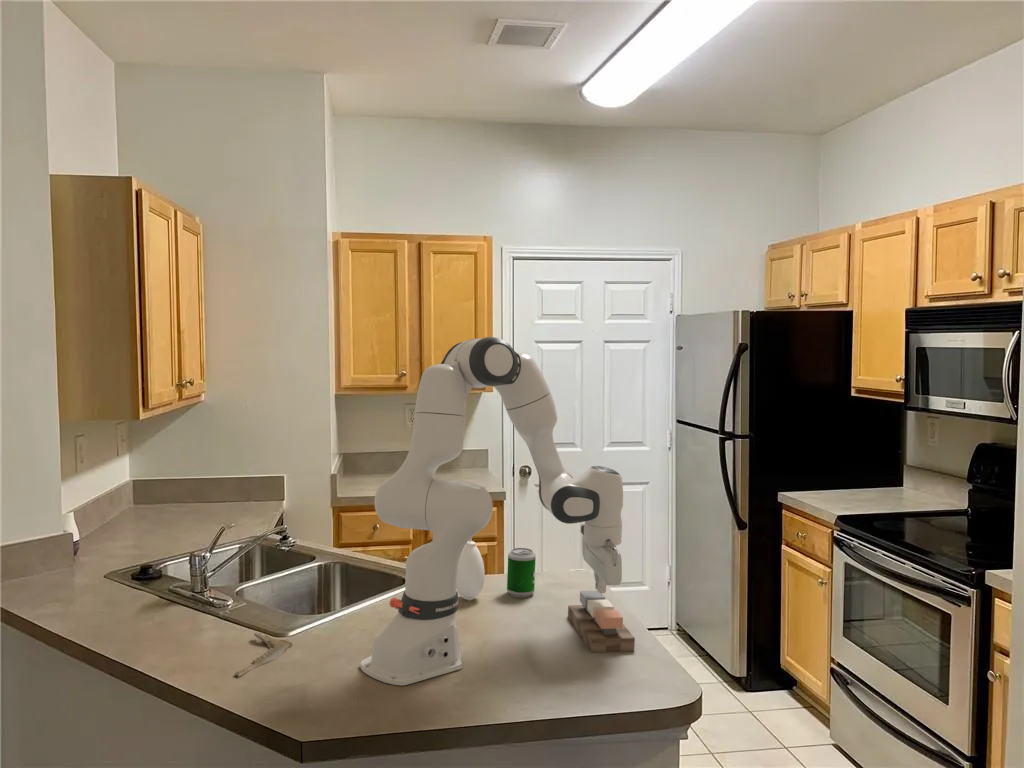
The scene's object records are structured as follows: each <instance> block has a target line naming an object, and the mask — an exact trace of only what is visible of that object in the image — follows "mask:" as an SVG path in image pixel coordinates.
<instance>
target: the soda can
mask: <svg viewBox="0 0 1024 768" xmlns="http://www.w3.org/2000/svg"><path fill="white" fill-rule="evenodd" d="M536 557H537V556H536V553H535V552H534V550H533V549H531V548H526V547H515V548H512V549H511V551H509V552H508V553H507V573H506V574H507V575H506V576H507V577H506V578H507V579H506V591H507V593H509V595H510V596H511V597H513V598H529V597H531V596H532V594H534V593H535V585H536V584H535V583H536V581H535V580H536V559H537V558H536Z"/></svg>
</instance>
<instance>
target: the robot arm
mask: <svg viewBox="0 0 1024 768" xmlns="http://www.w3.org/2000/svg"><path fill="white" fill-rule="evenodd" d="M548 385H549V384H548V383H547V381H546V379H545V377H544V375H543V372H542V371H541V370H540V367H539V366H538V365H537V363H536V361H535V360H534V358H533V357H532V356H530V355H529V354H527V353H517V352H516V351H515V349H514V348H513V347H512V346H511V345H510V343H508V342H507V341H505V340H503V338H502V339H501V338H500V337H495V336H487V337H486V336H485V337H483V338H471V339H467V340H465V341H463V342H458V343H456V344H455V345H453V346H451V348H449V349H448V351H447V352H446V354H444V357H443V359H442V361H441V363H438V364H433V365H430V366H429V367H427V368H426V369H425V370H423V373H422V374H421V378H420V381H419V386H418V388H417V389H418V390H417V395H416V401H415V407H414V415H413V416H414V417H413V427H412V428H413V429H412V435H411V441H410V442H411V443H410V448H409V450H408V453H407V455H406V458H405V460H404V461H403V463H402V465H401V466H400V467H399V468H398V470H396V472H395V473H393V474H392V475H391V476H390V477H388V478H387V479H385V480H384V481H383V482H382V483H381V484H380V485H379V486H378V488H377V491H376V493H375V495H374V509H375V512H376V515H377V517H378V519H380V521H381V522H383V523H385V524H387V525H391V526H394V527H397V528H401V529H409V530H411V529H412V530H420V531H422V530H424V531H430V532H433V533H432V541H430V542H428V543H425V544H423V545H420V546H419V547H417V548H415V549H413V550H412V551H411V552H410V553H409V554H408V556H407V558H406V562H405V583H404V584H405V585H404V587H405V588H404V589H405V590H404V592H403V593H402V595H401V599H399V598H396V597H391V598H390V600H389V607H390V608H394V609H396V610H397V613H396V614H395V615H394V616H393V617H392V619H391V620H390V621H389V622H388V623H387V624H386V625H385V627H383V629H382V630H381V631H380V632H378V634H377V635H376V636H375V638H374V640H373V644H372V648H371V650H372V651H371V655H370V656H368V657H366V658H364V659H362V660H361V661H360V663H359V668H360V669H361V670H362V672H363V673H365V674H366V675H367V676H369V677H370V678H373V679H375V680H378V681H380V682H383V683H385V684H390V685H394V686H395V685H396V686H407V685H411V684H414V683H418V682H421V681H424V680H428V679H431V678H434V677H438V676H441V675H445V674H448V673H451V672H455V671H458V670H461V669H462V668H463V662H462V658H463V657H462V656H463V654H462V650H461V645H460V640H459V639H460V637H459V629H458V621H457V620H458V619H457V611H458V610H459V593H458V590H457V588H456V585H457V571H458V563H459V558H460V555H461V552H462V550H463V548H464V547H465V546H466V543H467V542H468V541H470V539H471V538H472V539H473V537H474V536H475V535H476V534H478V533H479V532H481V531H482V530H483V529H485V528H486V526H487V525H488V524H489V522H490V520H491V518H492V515H493V511H494V510H493V500H492V496H491V495H490V493H489V491H488V489H487V488H485V487H484V486H482V485H478V484H475V483H472V482H469V481H468V482H467V481H463V480H450V479H449V480H448V479H437V478H435V477H436V472H437V470H438V468H439V467H440V466H441V465H444V464H446V463H450V462H451V461H453V460H454V459H456V458H457V457H459V456H460V455H461V454H462V451H463V449H464V443H465V442H464V440H465V427H466V412H467V400H468V396H469V394H470V393H471V391H472V389H483V388H488V387H493V388H494V389H496V391H497V392H498V394H499V396H500V398H501V399H502V403H503V405H504V408H505V410H506V413H507V415H508V418H509V419H510V422H511V423H512V425H513V427H514V429H515V430H516V432H517V433H518V435H519V436H520V437H521V438H522V440H523V441H524V442H525V444H526V446H527V447H528V449H529V453H530V455H531V456H530V457H531V458H532V461H533V464H534V466H535V469H536V472H537V474H538V498H539V500H540V503H541V504H542V506H543V507H544V508H545V509H546V510H547V511H549V513H550V514H552V516H553V517H554V518H555V519H556V520H558V521H559V522H561V523H564V524H566V525H568V524H570V525H571V524H578V523H583V522H584V524H580V533H581V536H582V537H581V540H582V541H581V545H582V546H581V547H582V558H583V561H584V562H585V563H586V564H587V565H588V566H589V568H590V569H592V571H593V576H594V577H593V578H594V581H595V583H594V585H595V587H594V589H595V590H596V591H598V592H599V593H602V594H605V593H606V592H607V586H620V585H621V584H622V580H623V579H622V578H623V566H622V563H623V562H622V561H623V559H622V554H621V552H620V551H619V550H618V549H617V546H619V545H621V543H622V535H623V534H622V533H623V530H622V529H623V520H622V509H623V506H624V485H623V484H624V483H623V478H622V476H621V474H620V473H619V472H618V471H616V469H612V468H610V467H606V466H602V465H601V466H600V465H593V466H590V467H589V468H588V469H587V470H586V471H584V472H583V473H581V474H580V475H577V476H575V477H573V476H572V475H571V474H570V473H569V472H567V470H566V469H565V468H564V465H563V464H562V461H561V458H560V455H559V453H558V449H557V447H556V444H555V440H554V438H553V437H554V436H553V433H554V428H555V426H556V424H557V421H558V416H557V413H558V412H557V410H556V405H555V404H556V403H555V400H554V399H553V395H552V392H551V390H550V387H549V386H548Z"/></svg>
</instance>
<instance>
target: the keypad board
mask: <svg viewBox="0 0 1024 768" xmlns="http://www.w3.org/2000/svg"><path fill="white" fill-rule="evenodd" d="M567 607H568V609H567V619H569V621H570V623H571V624H572V626H573V627H574V628H575V630H576V631H577V633H578V635H579V636H580V638H581V639H582V640H583V643H584V644H585V645H586V647H587V648H588V649H589V651H590V653H591V654H592V653H616V652H617V653H618V652H620V653H621V652H635V646H636V645H635V642H636V641H635V639H636V638H635V637H634V635H633V634H632V632H630V631H629V629H628V628H627V627H626V626H625V624H623V628H616V635H603V634H602V633H601V628H600V626H599V625H598V624H595V623H594V622H593V617H592V616H591V614H590V613H587V612H586V611H585V607H584V606H583V605H582V604H573V605H572V604H569V605H568V606H567Z"/></svg>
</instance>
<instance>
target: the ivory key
mask: <svg viewBox="0 0 1024 768" xmlns="http://www.w3.org/2000/svg"><path fill="white" fill-rule="evenodd" d="M614 608H615V606H614V605H613V604H612V603H611V602H610V601H609V599H606V598H605V600H588V604H587V610H588V612H589V613H590V614H591V616H592V617H593V622H594V623H595V624H597V622H596V621H595V614H596V610H615V609H614Z"/></svg>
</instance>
